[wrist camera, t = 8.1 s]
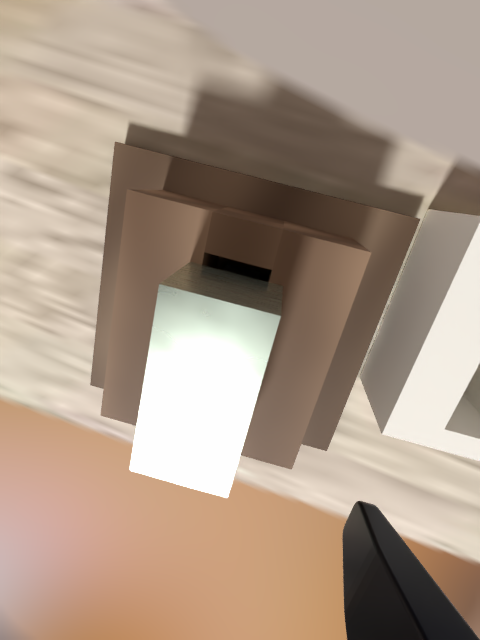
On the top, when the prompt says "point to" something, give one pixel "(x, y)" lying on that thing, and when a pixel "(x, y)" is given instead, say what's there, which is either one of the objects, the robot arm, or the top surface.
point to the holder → (432, 342)
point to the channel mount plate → (274, 266)
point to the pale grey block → (204, 374)
